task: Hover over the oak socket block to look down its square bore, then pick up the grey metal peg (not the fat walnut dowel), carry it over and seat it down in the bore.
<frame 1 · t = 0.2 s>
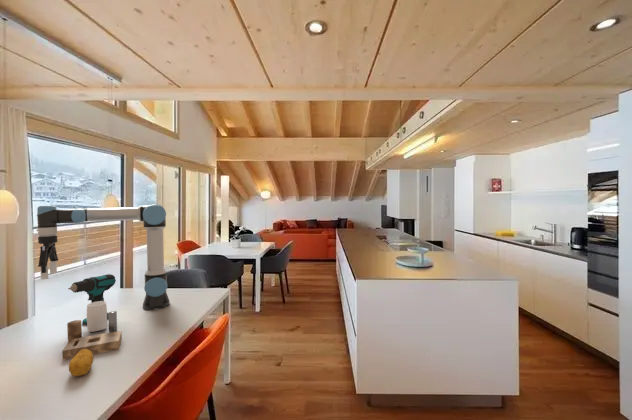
hand: (49, 276, 160), 28 cm above the table, fingers open, 13 cm apart
socket block: (94, 348, 138), on the table
potato: (81, 372, 119), on the table
walnut dowel: (75, 343, 144), on the table
cup: (97, 331, 158), on the table
power drill: (93, 322, 169), on the table
grey metal peg: (113, 336, 151), on the table
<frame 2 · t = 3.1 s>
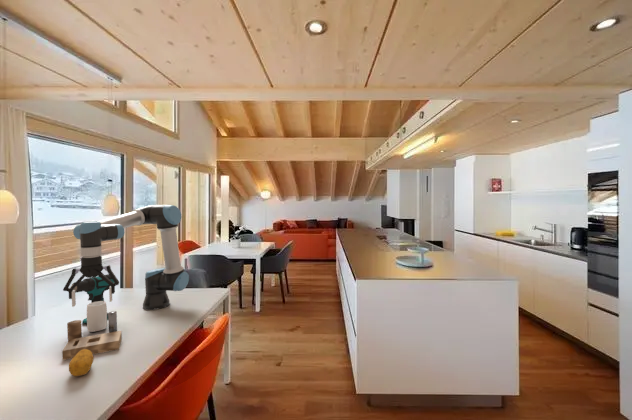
hand: (92, 303, 138), 21 cm above the table, fingers open, 13 cm apart
nothing on the table moved.
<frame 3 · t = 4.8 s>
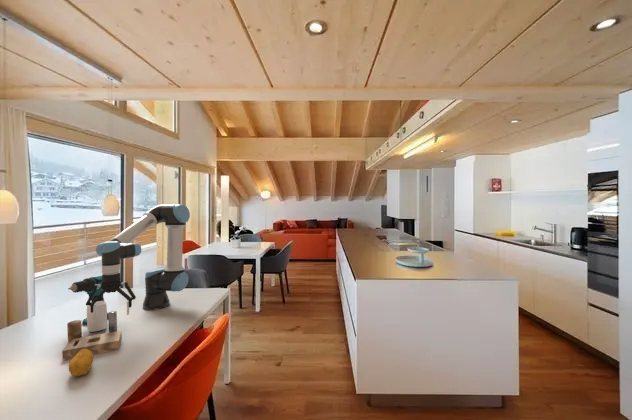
hand: (111, 316, 150), 10 cm above the table, fingers open, 13 cm apart
nothing on the table moved.
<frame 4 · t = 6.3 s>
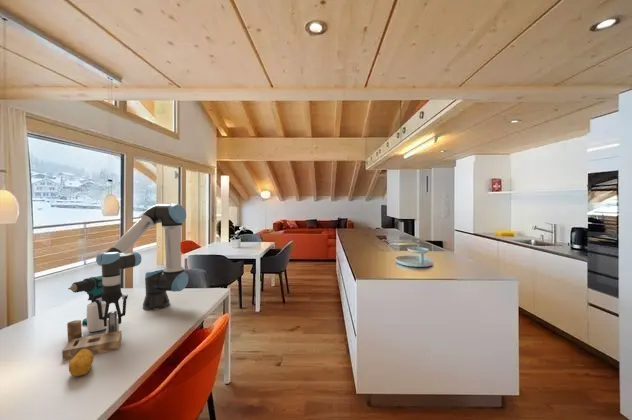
hand: (113, 331, 151), 3 cm above the table, fingers closed on grey metal peg, 3 cm apart
grey metal peg: (113, 336, 151), on the table, touching gripper
everything else where it was.
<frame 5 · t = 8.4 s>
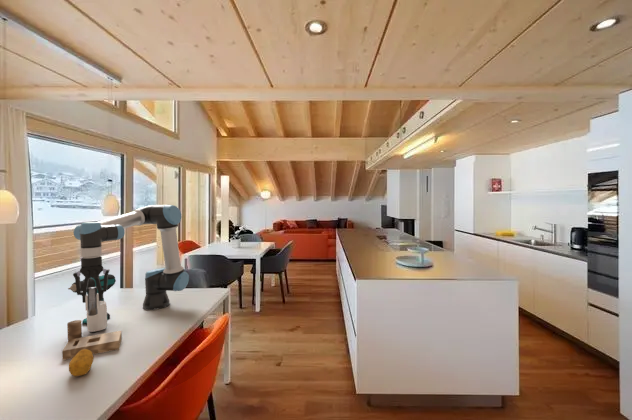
hand: (92, 308, 138), 18 cm above the table, fingers closed on grey metal peg, 3 cm apart
grey metal peg: (93, 314, 138), point 16 cm above the table, touching gripper
everything else where it was.
when the fingers open (5 cm above the table, at t = 10.5 s): grey metal peg stays where it is, on the table.
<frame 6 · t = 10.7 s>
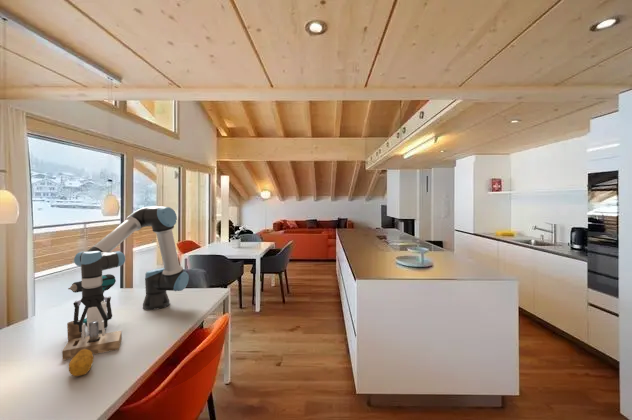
hand: (93, 336, 138), 5 cm above the table, fingers open, 7 cm apart
grey metal peg: (94, 348, 138), on the table
everything else where it was.
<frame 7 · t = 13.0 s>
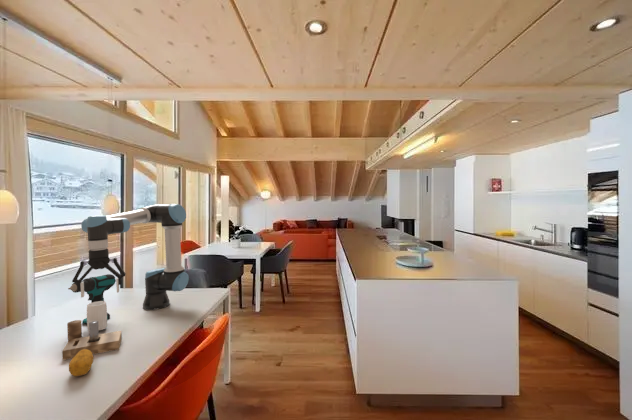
hand: (100, 294, 143), 23 cm above the table, fingers open, 13 cm apart
nothing on the table moved.
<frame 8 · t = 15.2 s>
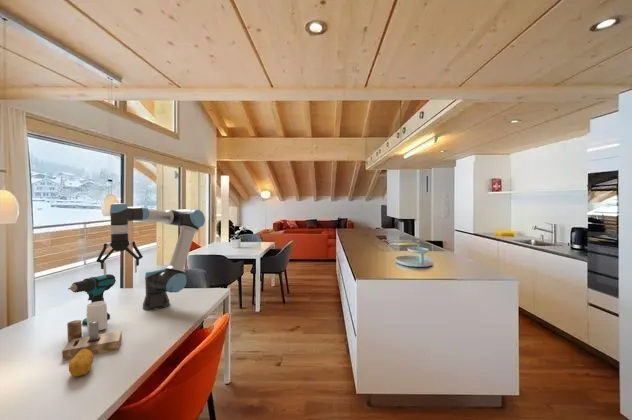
hand: (120, 273, 160), 29 cm above the table, fingers open, 13 cm apart
nothing on the table moved.
at the end: grey metal peg 0.1 cm off-centre on the socket block, point 0.0 cm above the socket block's base; grey metal peg tilted 0°; the gripper is holding nothing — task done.
